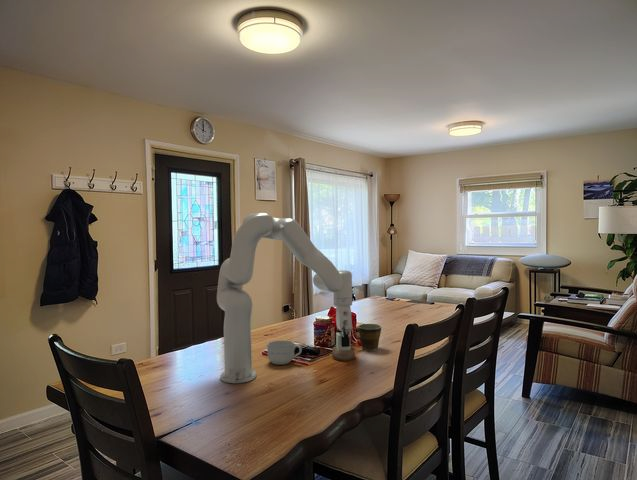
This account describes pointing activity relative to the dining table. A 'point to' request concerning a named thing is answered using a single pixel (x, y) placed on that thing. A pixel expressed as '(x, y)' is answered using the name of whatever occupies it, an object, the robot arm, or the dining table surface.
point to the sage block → (338, 342)
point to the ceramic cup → (369, 336)
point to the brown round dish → (343, 354)
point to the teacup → (282, 351)
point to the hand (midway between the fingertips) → (343, 343)
